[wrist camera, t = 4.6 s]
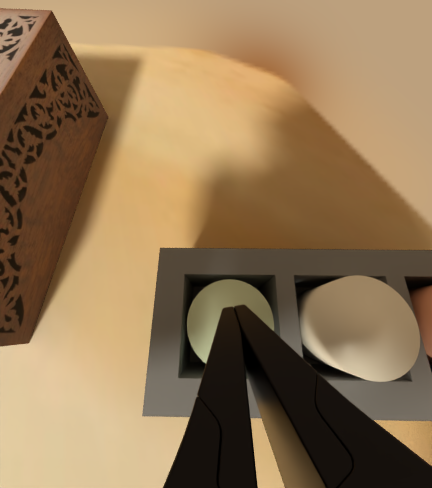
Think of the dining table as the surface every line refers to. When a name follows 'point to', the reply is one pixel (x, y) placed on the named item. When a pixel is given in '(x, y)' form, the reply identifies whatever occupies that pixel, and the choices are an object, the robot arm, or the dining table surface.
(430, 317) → the terracotta button
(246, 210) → the dining table surface
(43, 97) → the tissue box cover
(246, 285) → the sage button
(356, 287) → the cream rounded egg shape
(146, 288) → the dining table surface
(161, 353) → the tray
